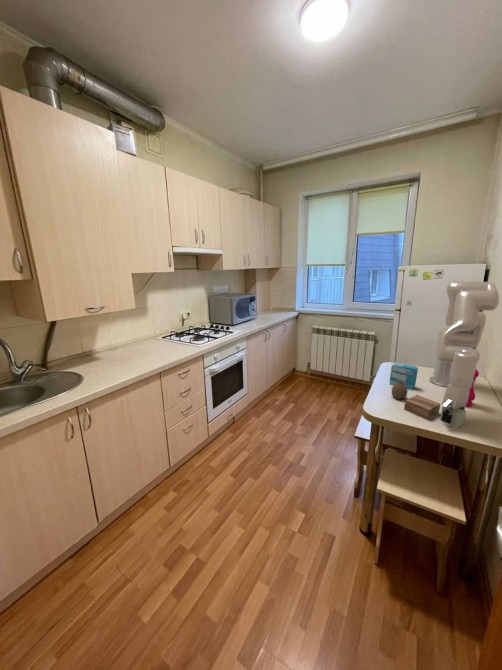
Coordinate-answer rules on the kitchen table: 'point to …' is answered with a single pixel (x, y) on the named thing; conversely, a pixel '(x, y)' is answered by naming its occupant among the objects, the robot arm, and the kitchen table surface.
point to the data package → (403, 374)
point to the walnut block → (422, 407)
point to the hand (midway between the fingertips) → (452, 418)
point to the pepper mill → (472, 390)
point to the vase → (399, 390)
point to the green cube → (456, 417)
